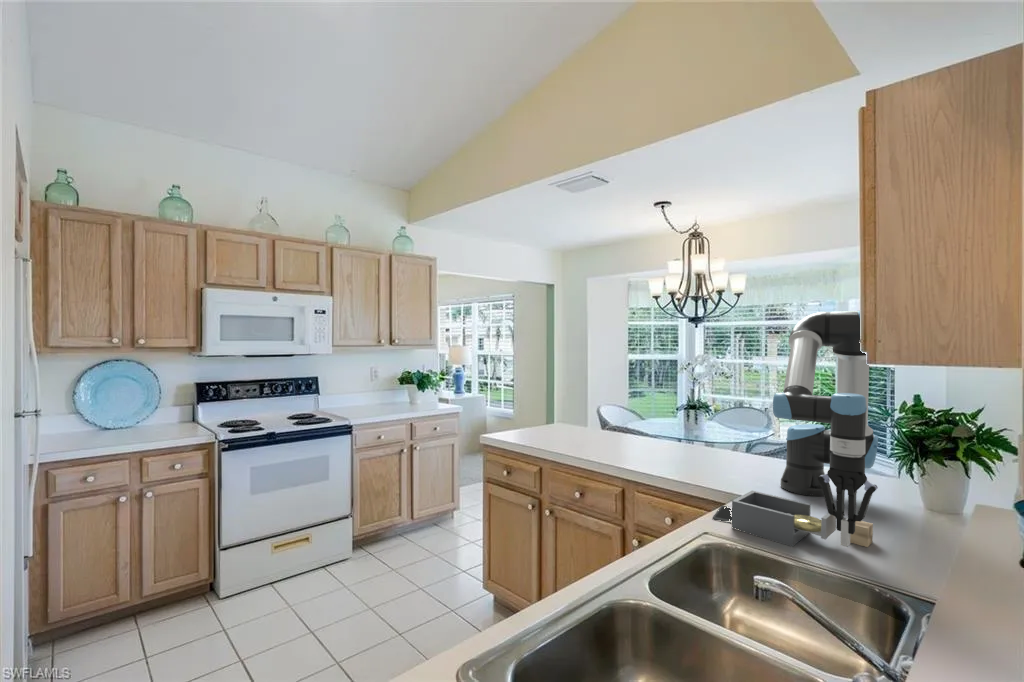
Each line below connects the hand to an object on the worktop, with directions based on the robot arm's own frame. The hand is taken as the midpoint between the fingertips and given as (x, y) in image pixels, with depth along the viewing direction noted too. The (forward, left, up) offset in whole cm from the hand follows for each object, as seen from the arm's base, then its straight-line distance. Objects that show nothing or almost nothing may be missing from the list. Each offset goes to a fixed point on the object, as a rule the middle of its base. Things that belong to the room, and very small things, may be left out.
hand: (845, 544), depth 128 cm
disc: (0, -9, +2) cm, 9 cm away
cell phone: (-3, -31, -2) cm, 32 cm away
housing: (0, -18, -2) cm, 18 cm away
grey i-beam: (0, -10, +1) cm, 10 cm away
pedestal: (-10, +1, -2) cm, 10 cm away
